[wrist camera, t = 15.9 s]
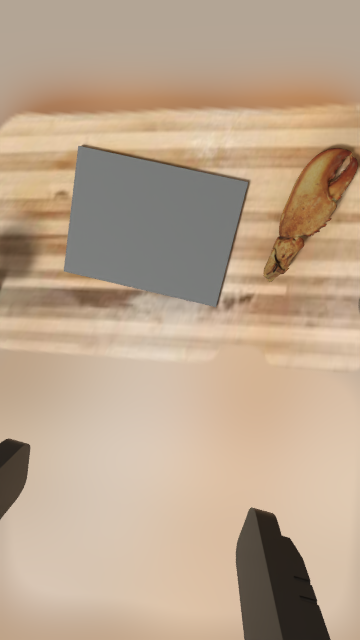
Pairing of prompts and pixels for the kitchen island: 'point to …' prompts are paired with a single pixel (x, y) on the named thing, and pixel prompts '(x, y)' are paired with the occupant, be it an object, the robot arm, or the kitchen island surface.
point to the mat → (152, 225)
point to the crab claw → (309, 206)
